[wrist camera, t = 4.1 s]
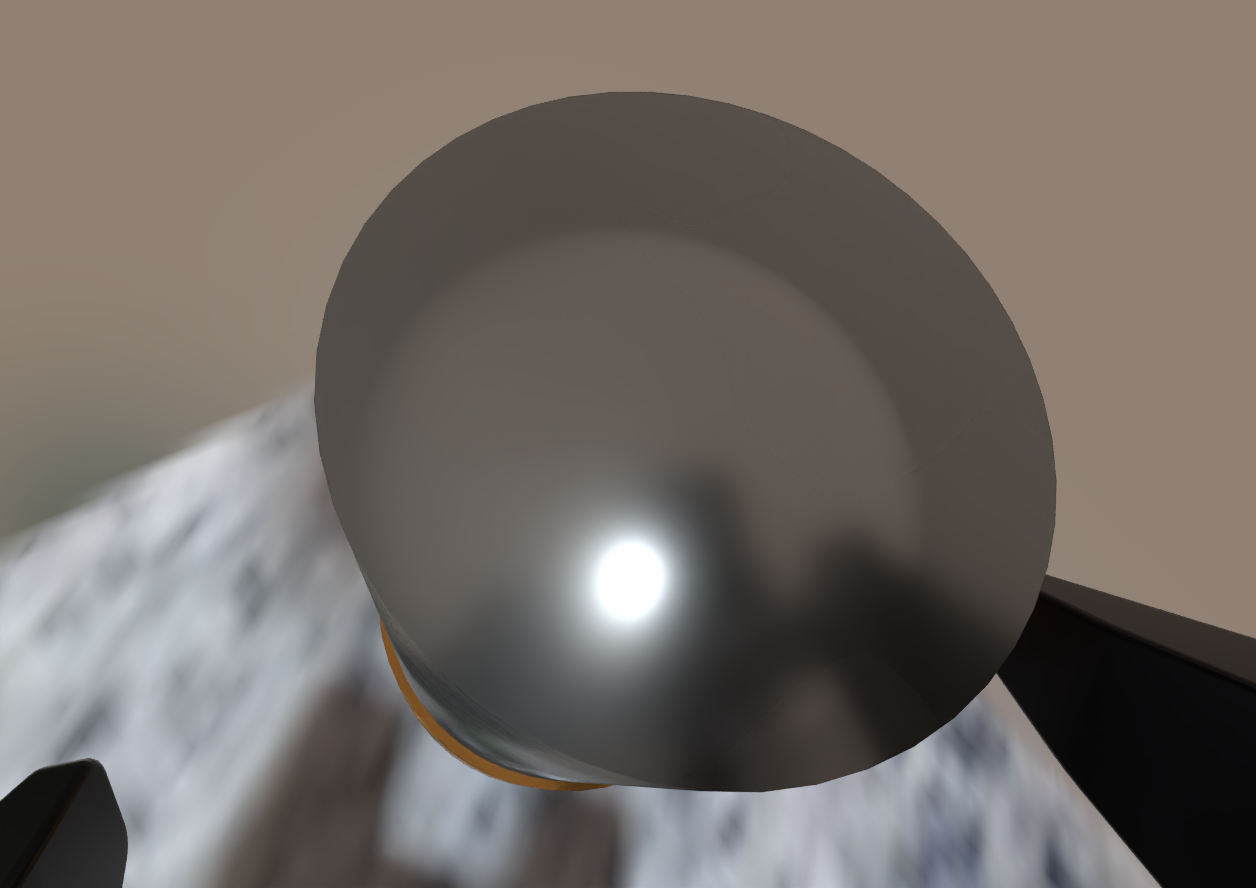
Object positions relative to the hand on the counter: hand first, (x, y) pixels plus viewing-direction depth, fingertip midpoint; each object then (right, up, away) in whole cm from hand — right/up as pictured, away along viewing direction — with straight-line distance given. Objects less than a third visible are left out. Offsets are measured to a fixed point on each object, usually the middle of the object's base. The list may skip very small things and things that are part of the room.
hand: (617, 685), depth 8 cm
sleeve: (-2, -2, +8) cm, 9 cm away
